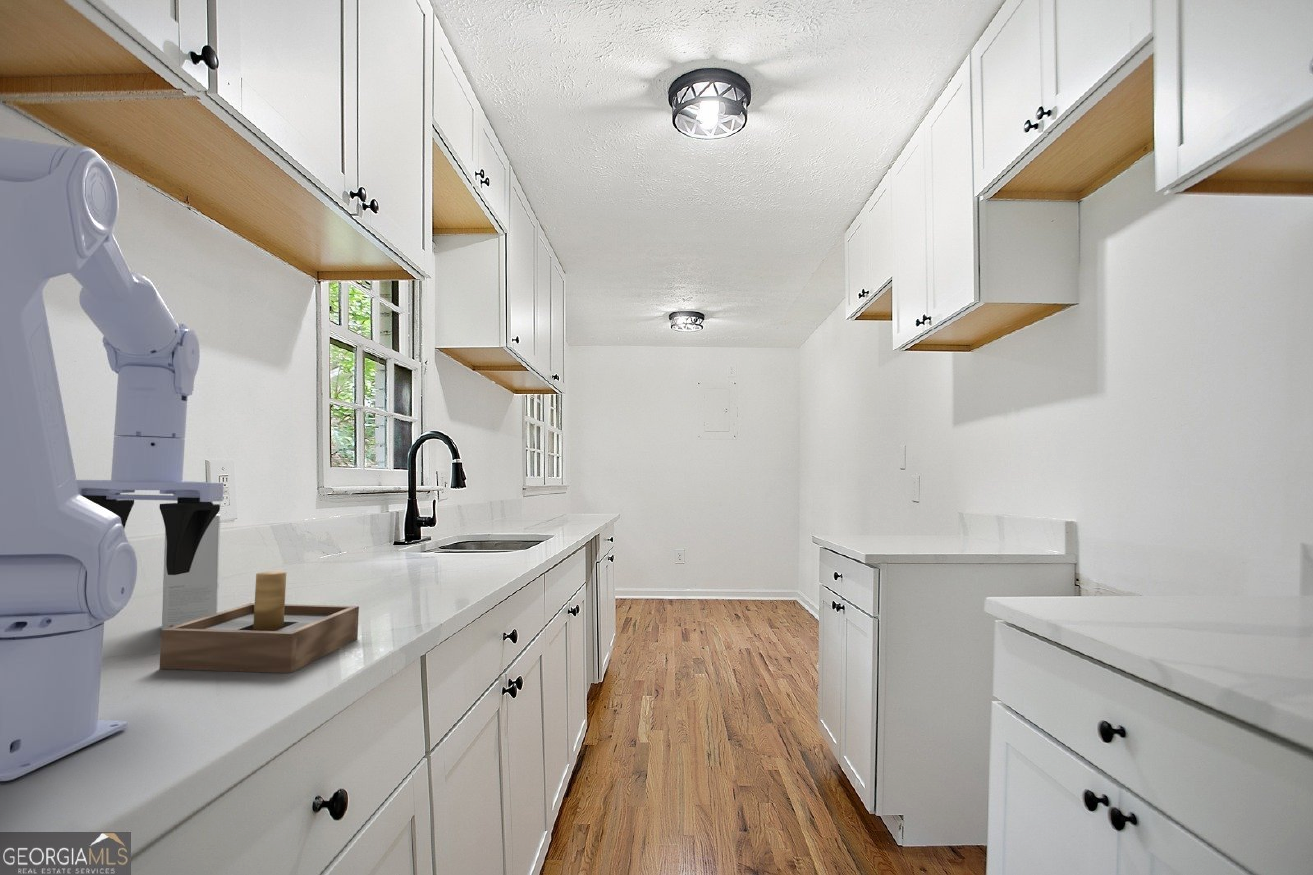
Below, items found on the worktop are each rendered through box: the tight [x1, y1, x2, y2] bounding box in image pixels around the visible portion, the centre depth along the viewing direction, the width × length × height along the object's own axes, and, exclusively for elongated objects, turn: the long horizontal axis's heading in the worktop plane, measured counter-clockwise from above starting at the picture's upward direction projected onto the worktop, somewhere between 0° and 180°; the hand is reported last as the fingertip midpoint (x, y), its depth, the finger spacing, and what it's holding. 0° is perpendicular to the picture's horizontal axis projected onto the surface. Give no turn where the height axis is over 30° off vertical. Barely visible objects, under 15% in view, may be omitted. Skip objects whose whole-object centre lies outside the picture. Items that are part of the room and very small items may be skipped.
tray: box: [158, 602, 360, 674], centre depth 75 cm, size 14×14×4 cm
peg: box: [253, 570, 287, 631], centre depth 75 cm, size 3×3×8 cm
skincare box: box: [161, 513, 221, 631], centre depth 85 cm, size 8×6×15 cm
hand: (141, 572), depth 65 cm, fingers open, 7 cm apart
